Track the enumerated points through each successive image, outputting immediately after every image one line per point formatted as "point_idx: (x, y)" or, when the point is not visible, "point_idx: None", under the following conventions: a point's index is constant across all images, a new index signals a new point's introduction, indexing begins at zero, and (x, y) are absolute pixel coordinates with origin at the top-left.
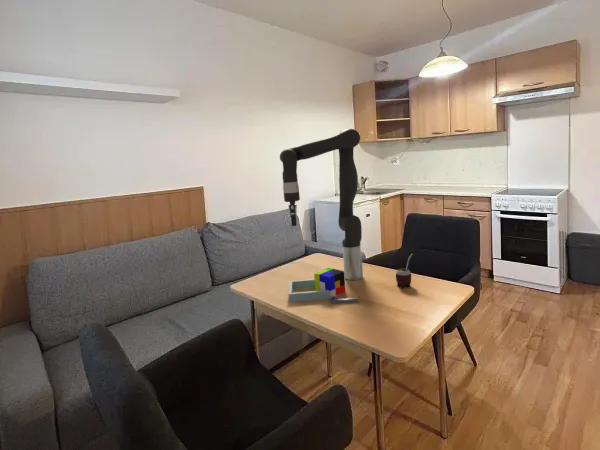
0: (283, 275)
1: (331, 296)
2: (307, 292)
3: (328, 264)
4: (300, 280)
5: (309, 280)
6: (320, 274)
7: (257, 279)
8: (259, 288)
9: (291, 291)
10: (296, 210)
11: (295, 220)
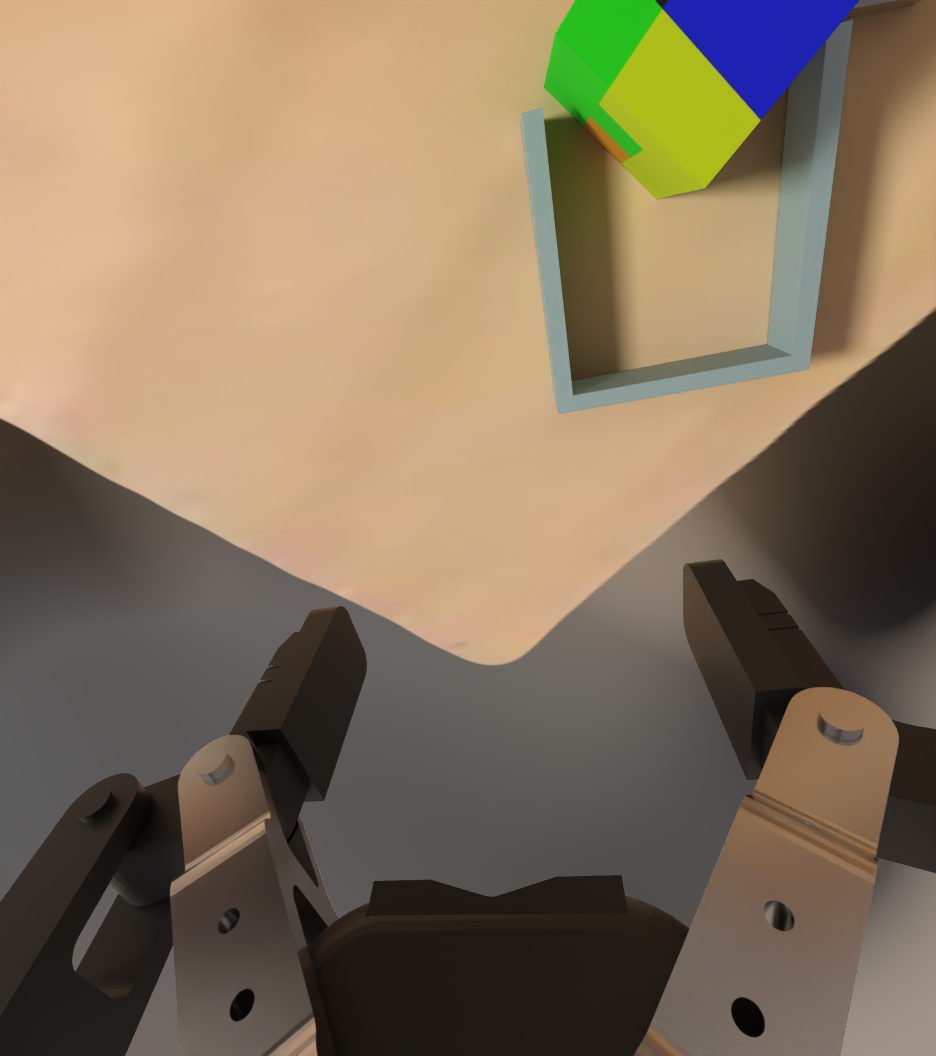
0: (333, 487)
1: None
2: (822, 231)
3: (48, 202)
4: (555, 340)
5: (558, 268)
6: (764, 101)
7: (404, 600)
8: (533, 563)
9: (762, 361)
10: (275, 869)
11: (772, 645)
